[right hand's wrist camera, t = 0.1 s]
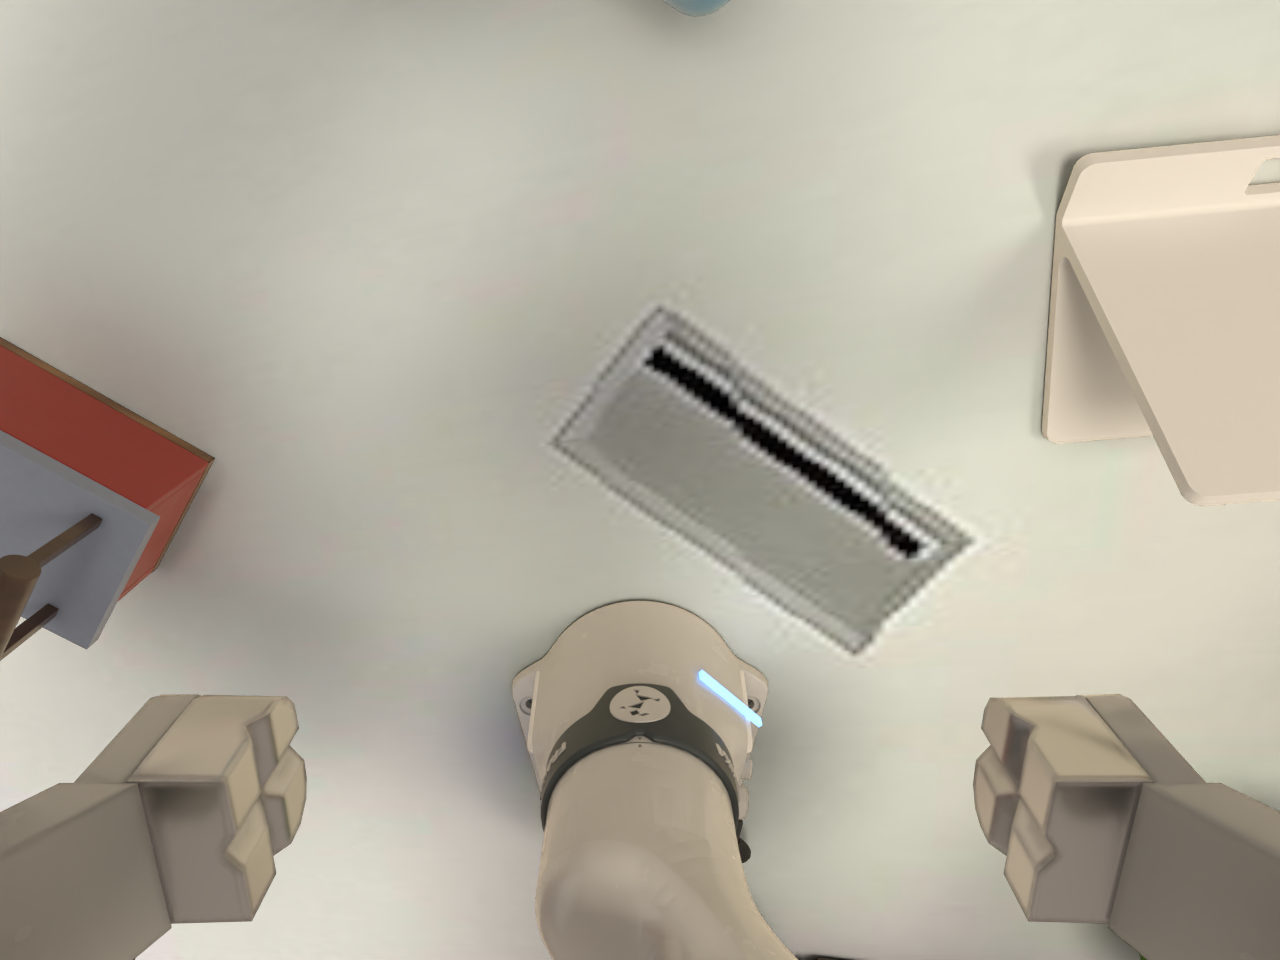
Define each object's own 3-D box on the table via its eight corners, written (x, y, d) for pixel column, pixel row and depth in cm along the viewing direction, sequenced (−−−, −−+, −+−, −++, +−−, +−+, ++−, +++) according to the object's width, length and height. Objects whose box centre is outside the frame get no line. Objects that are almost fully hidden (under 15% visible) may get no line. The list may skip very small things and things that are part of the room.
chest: (214, 458, 60) (146, 508, 52) (157, 567, 63) (83, 631, 55) (-2, 336, 57) (-112, 368, 49) (-52, 456, 60) (-164, 506, 52)
